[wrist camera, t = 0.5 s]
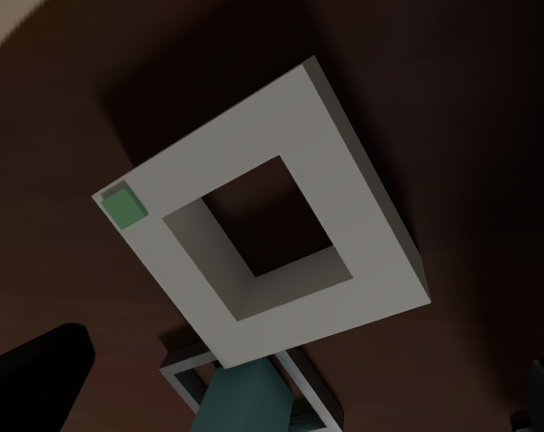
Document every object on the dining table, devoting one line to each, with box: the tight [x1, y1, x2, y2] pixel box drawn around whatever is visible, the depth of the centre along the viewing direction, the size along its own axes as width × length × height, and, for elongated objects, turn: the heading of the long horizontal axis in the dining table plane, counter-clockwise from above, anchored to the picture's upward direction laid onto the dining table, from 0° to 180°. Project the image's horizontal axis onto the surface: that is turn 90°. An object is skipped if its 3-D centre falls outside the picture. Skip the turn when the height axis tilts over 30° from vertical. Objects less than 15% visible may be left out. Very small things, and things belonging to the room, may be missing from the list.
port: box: [92, 55, 431, 369], centre depth 20 cm, size 12×12×4 cm
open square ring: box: [159, 340, 344, 432], centre depth 28 cm, size 9×9×2 cm
